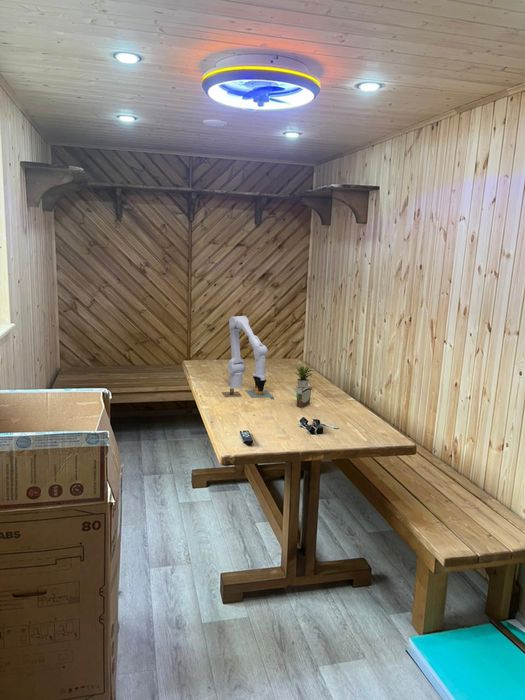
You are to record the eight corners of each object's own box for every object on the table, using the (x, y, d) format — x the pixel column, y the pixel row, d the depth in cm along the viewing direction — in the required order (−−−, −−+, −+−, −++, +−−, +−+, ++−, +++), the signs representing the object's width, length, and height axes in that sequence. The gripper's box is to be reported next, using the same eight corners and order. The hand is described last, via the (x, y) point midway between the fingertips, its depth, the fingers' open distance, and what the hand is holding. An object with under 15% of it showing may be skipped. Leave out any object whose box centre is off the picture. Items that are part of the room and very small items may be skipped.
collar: (253, 392, 315) (253, 386, 315) (262, 392, 317) (262, 385, 316) (255, 395, 310) (255, 388, 310) (264, 394, 311) (264, 388, 311)
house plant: (311, 393, 322) (312, 366, 320) (288, 391, 327) (289, 364, 324) (316, 388, 336) (318, 362, 333) (295, 386, 340) (296, 360, 337)
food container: (300, 402, 303) (301, 384, 301) (310, 404, 300) (311, 386, 298) (290, 406, 292) (291, 388, 291) (300, 408, 289) (301, 390, 287)
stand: (221, 394, 315) (221, 386, 314) (238, 393, 317) (238, 386, 316) (224, 399, 303) (224, 391, 302) (242, 398, 305) (242, 391, 305)
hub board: (244, 392, 321) (245, 384, 320) (266, 391, 324) (266, 384, 323) (251, 400, 304) (251, 392, 303) (273, 399, 307) (274, 391, 306)
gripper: (250, 364, 317) (249, 387, 319) (256, 369, 303) (255, 393, 305) (262, 364, 319) (261, 386, 321) (268, 369, 305) (267, 392, 307)
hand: (259, 390), depth 313 cm, fingers open, 6 cm apart
